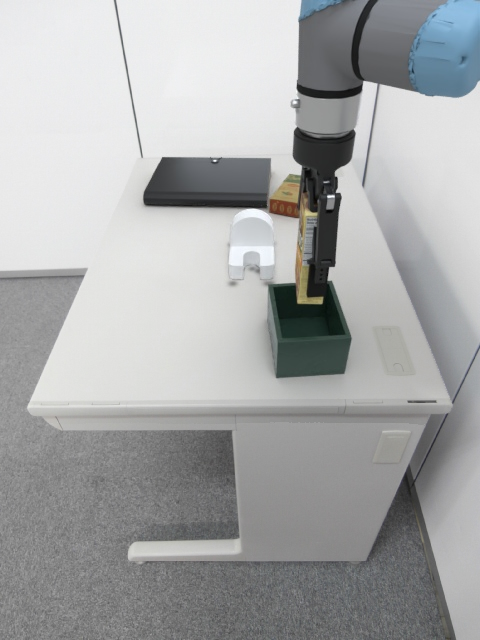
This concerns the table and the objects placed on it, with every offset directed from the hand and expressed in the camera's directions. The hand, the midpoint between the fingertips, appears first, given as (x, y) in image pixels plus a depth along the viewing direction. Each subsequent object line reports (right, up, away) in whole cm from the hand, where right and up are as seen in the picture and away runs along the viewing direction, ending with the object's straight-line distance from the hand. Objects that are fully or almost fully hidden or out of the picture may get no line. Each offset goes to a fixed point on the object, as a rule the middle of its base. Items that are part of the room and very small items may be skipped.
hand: (310, 275), depth 69 cm
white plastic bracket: (-8, +8, +32) cm, 34 cm away
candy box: (0, -2, +2) cm, 2 cm away
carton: (+3, +25, +50) cm, 56 cm away
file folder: (-19, +31, +57) cm, 68 cm away
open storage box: (0, -11, +11) cm, 16 cm away
